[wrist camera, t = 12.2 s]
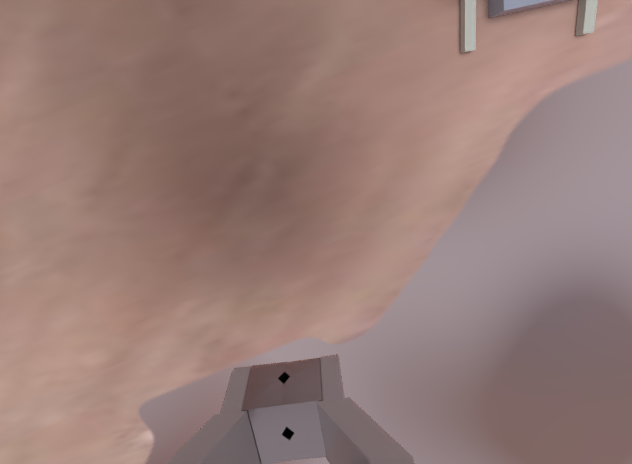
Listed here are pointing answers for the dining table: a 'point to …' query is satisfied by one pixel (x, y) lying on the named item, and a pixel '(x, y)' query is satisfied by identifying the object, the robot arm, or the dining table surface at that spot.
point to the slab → (516, 6)
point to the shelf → (468, 22)
